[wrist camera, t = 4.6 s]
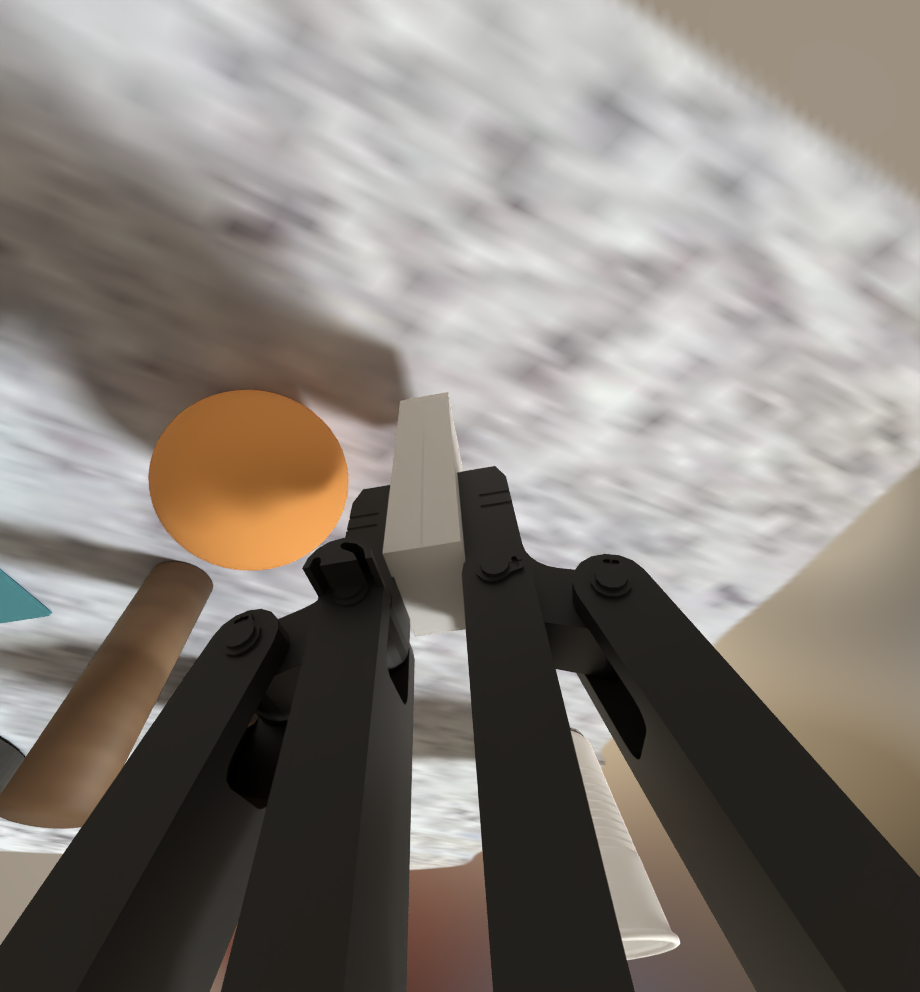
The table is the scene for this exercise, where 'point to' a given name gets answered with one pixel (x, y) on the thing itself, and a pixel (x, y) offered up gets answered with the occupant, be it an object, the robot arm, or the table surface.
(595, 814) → the cup
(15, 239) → the table surface
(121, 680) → the post
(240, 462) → the ball
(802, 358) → the table surface
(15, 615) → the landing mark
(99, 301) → the table surface
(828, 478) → the table surface
